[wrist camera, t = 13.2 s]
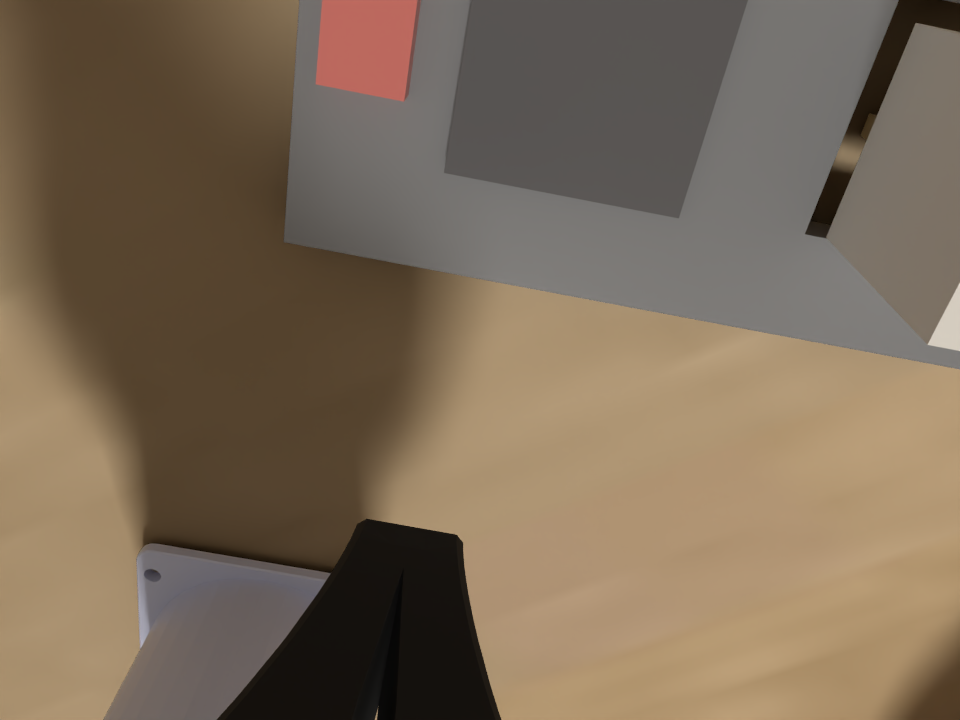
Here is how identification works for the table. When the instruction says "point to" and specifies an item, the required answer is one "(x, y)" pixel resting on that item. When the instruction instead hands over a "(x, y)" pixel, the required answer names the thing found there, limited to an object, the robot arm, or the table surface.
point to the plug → (911, 191)
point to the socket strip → (596, 152)
